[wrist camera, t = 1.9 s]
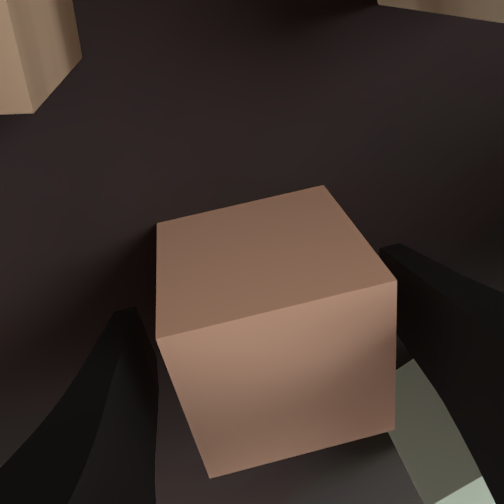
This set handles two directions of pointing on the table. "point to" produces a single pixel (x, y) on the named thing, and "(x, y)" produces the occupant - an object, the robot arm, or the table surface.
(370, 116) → the table surface
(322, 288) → the terracotta cube
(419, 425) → the sage painted cube
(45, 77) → the tan cube
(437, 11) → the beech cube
